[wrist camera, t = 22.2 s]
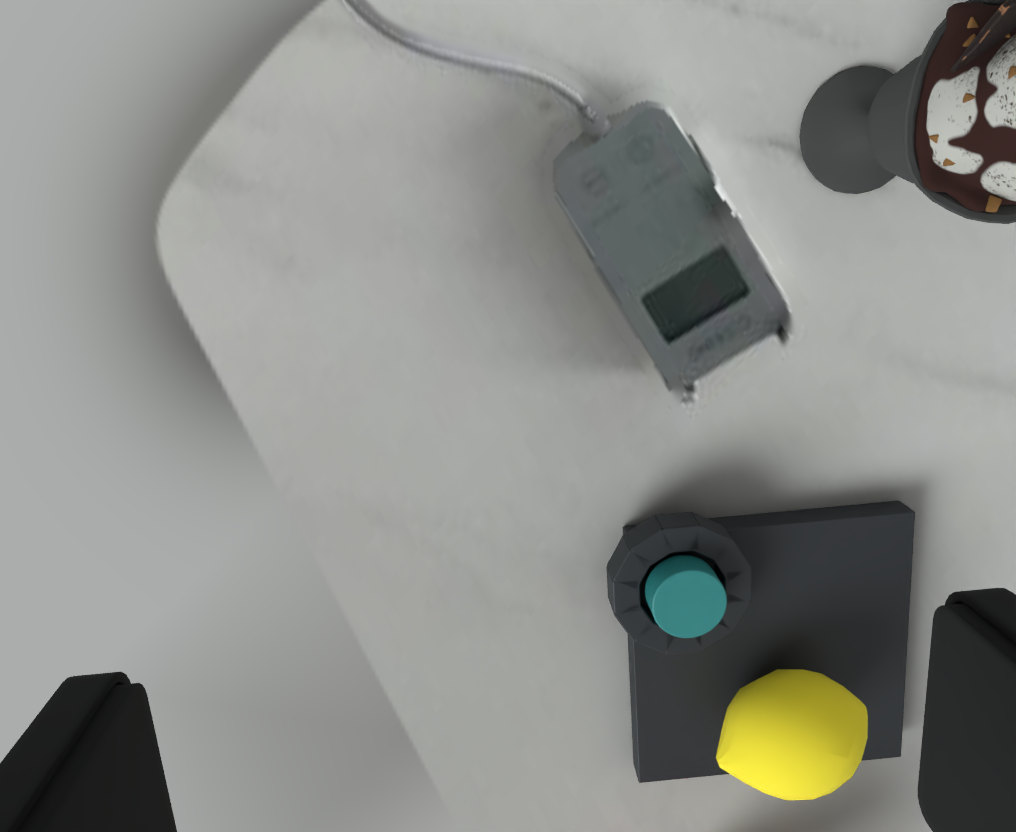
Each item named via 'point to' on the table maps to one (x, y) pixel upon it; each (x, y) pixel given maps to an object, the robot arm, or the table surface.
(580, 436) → the table surface
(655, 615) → the button
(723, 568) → the scale
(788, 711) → the lemon
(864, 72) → the sundae
